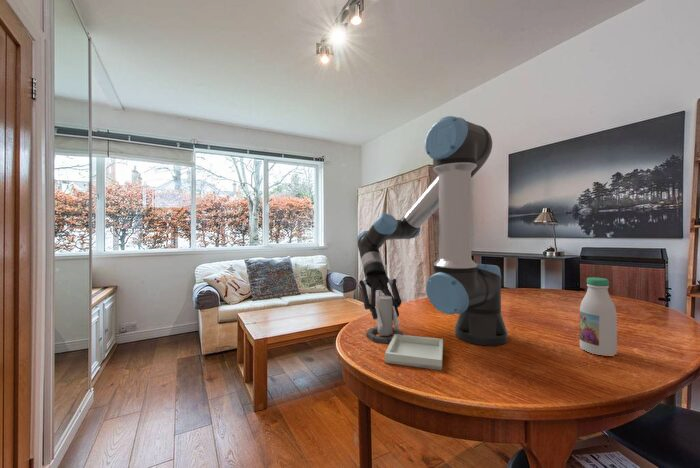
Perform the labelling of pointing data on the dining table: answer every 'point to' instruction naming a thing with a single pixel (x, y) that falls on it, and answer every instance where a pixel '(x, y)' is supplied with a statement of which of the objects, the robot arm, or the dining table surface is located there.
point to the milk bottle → (598, 319)
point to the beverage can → (385, 315)
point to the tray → (415, 351)
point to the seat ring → (381, 339)
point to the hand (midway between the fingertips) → (388, 327)
